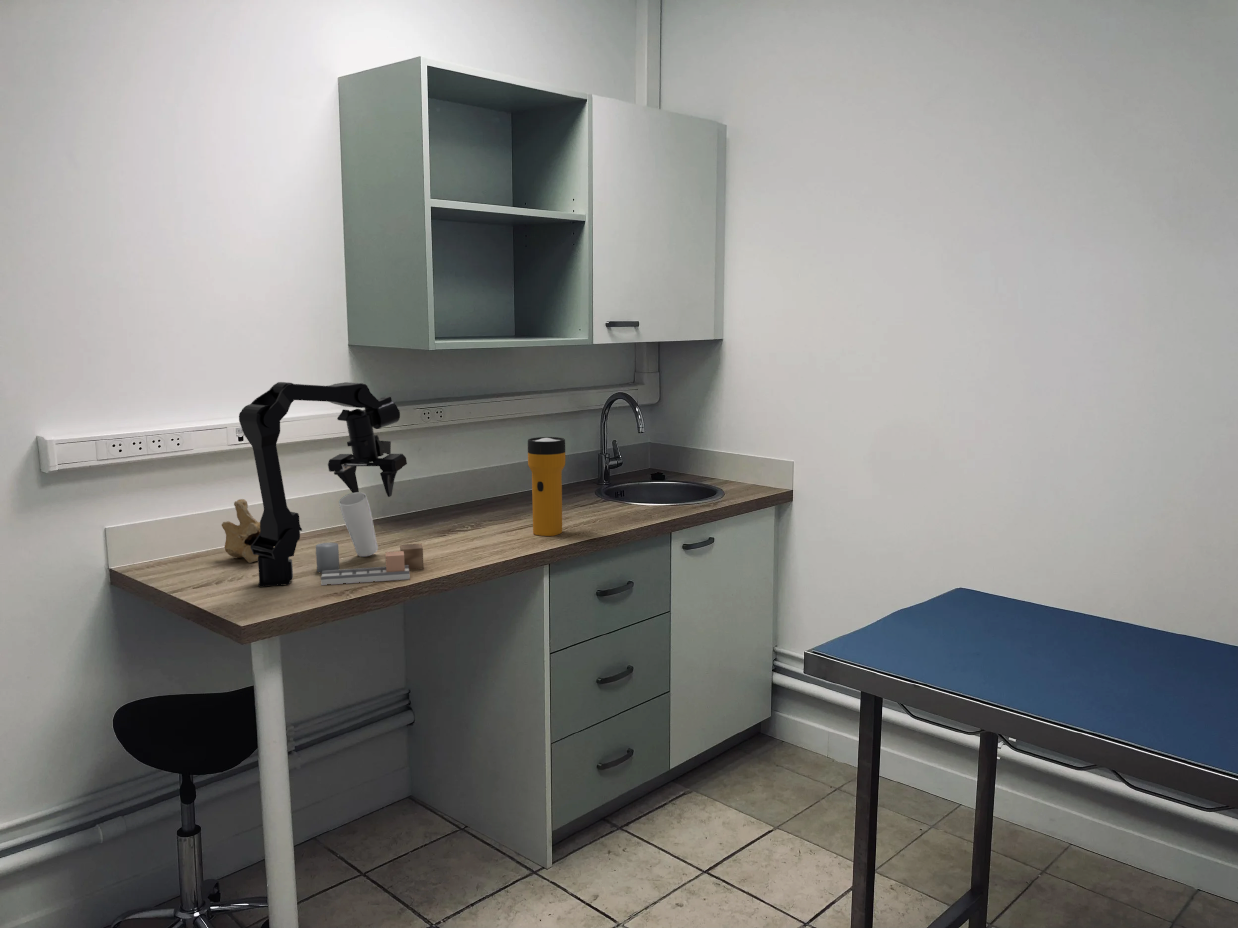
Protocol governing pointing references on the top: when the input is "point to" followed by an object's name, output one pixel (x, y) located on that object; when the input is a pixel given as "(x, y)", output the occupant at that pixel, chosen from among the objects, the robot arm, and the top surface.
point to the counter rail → (362, 575)
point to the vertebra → (241, 533)
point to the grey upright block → (327, 557)
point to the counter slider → (395, 561)
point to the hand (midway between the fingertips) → (373, 496)
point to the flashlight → (546, 483)
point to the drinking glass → (359, 522)
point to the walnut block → (413, 555)
